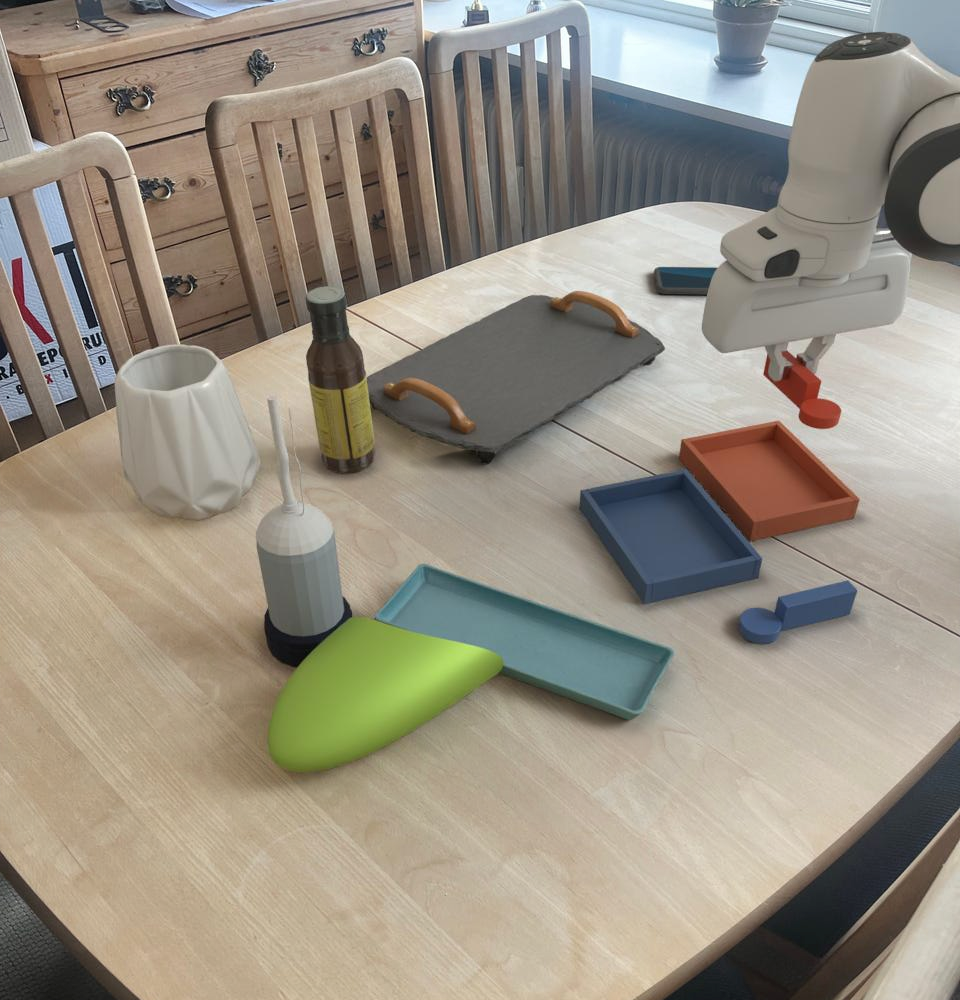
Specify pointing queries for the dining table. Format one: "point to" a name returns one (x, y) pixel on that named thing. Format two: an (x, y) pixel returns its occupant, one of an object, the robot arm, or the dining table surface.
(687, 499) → the tray blue
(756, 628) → the spoon blue
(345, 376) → the sauce bottle
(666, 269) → the smartphone
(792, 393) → the red bar with disc
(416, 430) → the serving tray
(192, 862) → the dining table surface
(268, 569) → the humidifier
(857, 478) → the dining table surface
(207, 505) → the vase
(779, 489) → the tray red
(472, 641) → the shallow long dish
